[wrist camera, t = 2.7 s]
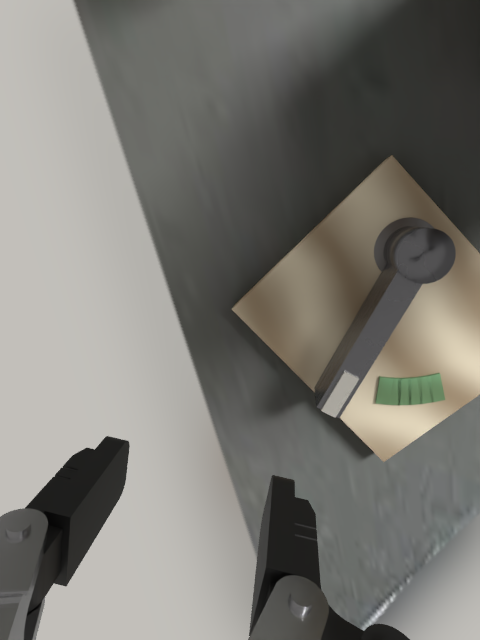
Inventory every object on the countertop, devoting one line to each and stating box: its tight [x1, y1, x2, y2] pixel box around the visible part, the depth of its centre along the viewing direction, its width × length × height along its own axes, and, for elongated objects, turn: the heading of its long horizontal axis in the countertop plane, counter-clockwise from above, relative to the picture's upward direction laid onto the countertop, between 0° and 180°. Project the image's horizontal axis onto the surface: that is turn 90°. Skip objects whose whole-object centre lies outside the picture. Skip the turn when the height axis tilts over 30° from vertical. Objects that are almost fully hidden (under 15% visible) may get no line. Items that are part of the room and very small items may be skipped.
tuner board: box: [232, 156, 480, 462], centre depth 27 cm, size 14×16×2 cm
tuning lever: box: [314, 226, 456, 418], centre depth 25 cm, size 12×3×4 cm, turn 155°
